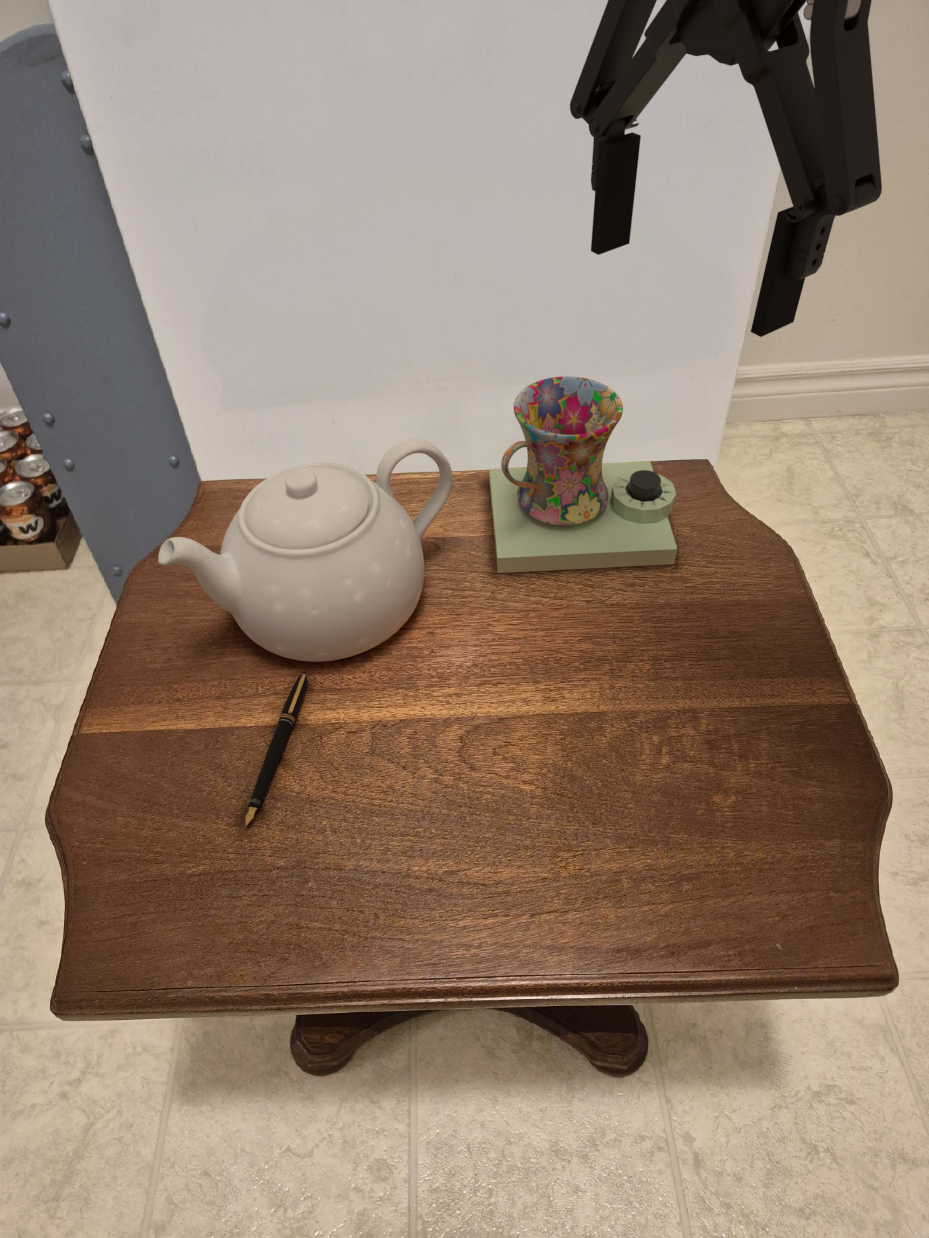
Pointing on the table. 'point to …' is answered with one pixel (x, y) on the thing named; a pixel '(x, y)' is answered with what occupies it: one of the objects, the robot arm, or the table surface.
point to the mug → (564, 447)
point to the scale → (584, 527)
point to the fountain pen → (277, 744)
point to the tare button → (644, 485)
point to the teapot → (320, 558)
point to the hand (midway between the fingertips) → (684, 285)
